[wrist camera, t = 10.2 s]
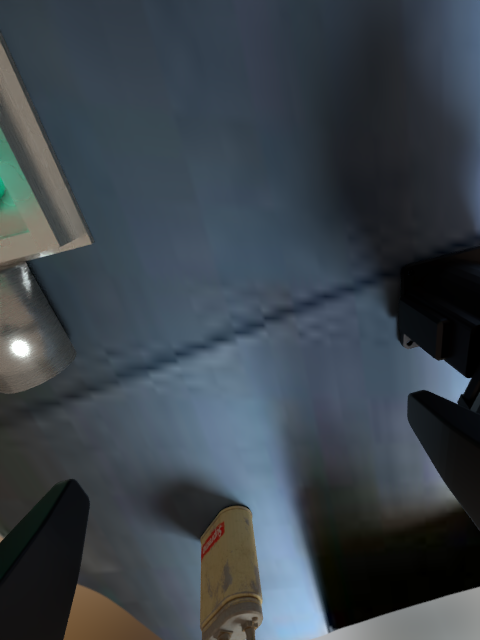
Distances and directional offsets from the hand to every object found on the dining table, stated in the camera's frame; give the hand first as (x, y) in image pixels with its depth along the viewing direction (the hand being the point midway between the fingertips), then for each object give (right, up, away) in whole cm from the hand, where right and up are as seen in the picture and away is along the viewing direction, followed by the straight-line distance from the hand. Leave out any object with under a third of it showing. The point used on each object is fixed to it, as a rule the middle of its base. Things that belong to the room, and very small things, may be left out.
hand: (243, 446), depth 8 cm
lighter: (-1, -17, +23) cm, 29 cm away
